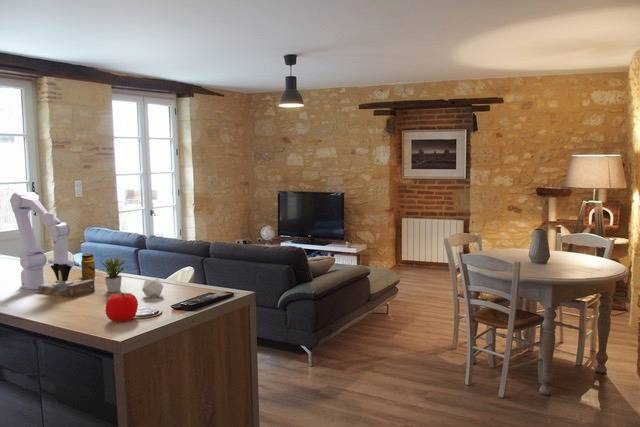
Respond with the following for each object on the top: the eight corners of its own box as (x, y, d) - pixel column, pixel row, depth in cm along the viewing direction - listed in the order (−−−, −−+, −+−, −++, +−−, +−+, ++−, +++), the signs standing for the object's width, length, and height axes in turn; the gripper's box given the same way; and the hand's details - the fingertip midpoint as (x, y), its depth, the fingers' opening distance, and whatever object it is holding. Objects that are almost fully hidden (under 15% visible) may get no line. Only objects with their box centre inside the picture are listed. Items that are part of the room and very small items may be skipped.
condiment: (97, 279, 260) (96, 255, 258) (78, 281, 255) (77, 257, 254) (94, 276, 266) (93, 252, 264) (76, 278, 261) (74, 254, 260)
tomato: (122, 327, 186) (121, 298, 185) (98, 323, 191) (97, 295, 189) (146, 317, 197) (145, 290, 196) (123, 314, 201) (121, 287, 200)
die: (162, 294, 232) (148, 277, 231) (170, 288, 226) (156, 270, 226) (148, 305, 226) (134, 287, 225) (156, 298, 220) (142, 280, 220)
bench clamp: (37, 292, 235) (36, 281, 234) (60, 286, 246) (59, 275, 245) (72, 297, 226) (71, 286, 225) (94, 291, 236) (94, 280, 236)
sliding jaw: (52, 288, 234) (51, 271, 233) (65, 285, 240) (64, 268, 239) (60, 289, 232) (59, 272, 231) (73, 286, 238) (72, 269, 237)
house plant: (128, 294, 230) (127, 257, 228) (95, 296, 227) (92, 259, 225) (133, 286, 244) (131, 251, 242) (101, 288, 241) (99, 253, 239)
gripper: (41, 251, 234) (43, 281, 235) (64, 253, 228) (66, 284, 229) (55, 248, 240) (57, 277, 242) (77, 250, 234) (79, 280, 236)
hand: (62, 280), depth 236 cm, fingers closed on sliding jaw, 3 cm apart
